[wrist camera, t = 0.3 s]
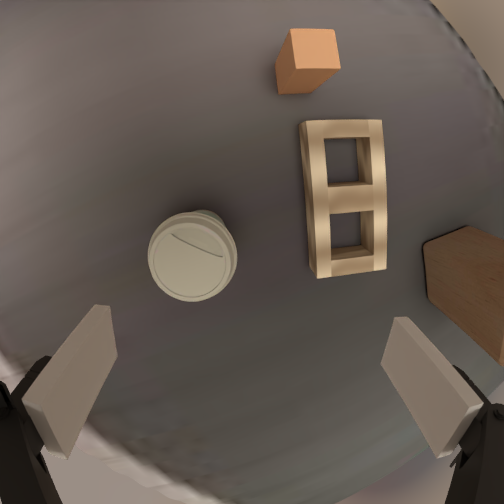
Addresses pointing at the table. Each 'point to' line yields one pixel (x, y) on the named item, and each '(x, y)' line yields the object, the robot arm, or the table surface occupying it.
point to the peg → (306, 60)
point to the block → (469, 284)
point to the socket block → (345, 197)
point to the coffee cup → (192, 255)
